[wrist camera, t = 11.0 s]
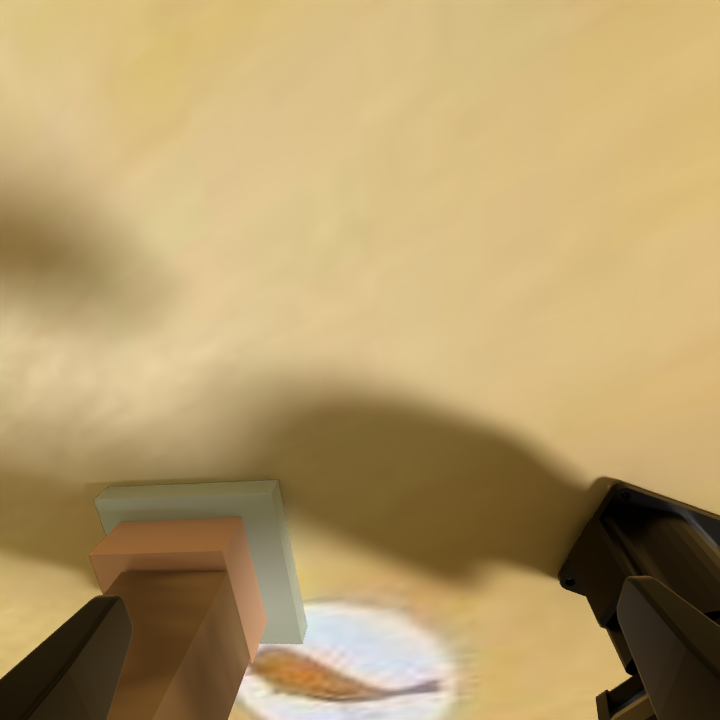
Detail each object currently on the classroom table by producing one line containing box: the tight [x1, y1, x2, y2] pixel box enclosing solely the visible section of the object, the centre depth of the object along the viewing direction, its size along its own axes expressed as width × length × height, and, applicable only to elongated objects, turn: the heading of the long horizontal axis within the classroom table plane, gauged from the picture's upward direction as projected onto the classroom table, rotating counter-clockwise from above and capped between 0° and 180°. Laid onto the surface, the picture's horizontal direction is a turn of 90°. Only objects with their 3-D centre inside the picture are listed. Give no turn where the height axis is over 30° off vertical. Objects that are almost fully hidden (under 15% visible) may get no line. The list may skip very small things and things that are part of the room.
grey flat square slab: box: [94, 480, 307, 644], centre depth 26 cm, size 10×10×2 cm
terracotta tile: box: [89, 517, 267, 663], centre depth 24 cm, size 7×7×2 cm
